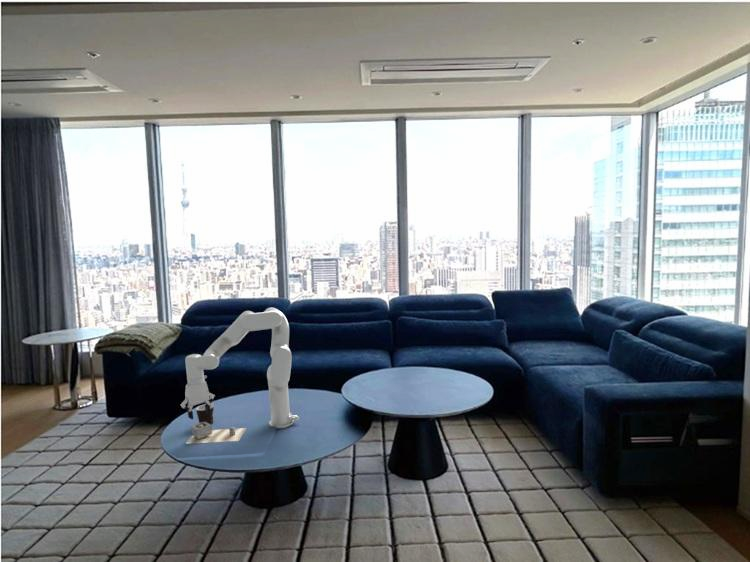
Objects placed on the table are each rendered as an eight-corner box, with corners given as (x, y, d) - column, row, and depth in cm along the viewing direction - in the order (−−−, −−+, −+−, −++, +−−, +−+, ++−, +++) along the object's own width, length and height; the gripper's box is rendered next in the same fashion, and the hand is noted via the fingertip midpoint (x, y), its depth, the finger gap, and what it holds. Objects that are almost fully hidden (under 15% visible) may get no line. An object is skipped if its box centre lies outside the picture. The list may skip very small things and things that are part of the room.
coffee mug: (209, 429, 234) (207, 410, 233) (194, 428, 236) (192, 410, 235) (221, 420, 245) (219, 402, 244) (206, 419, 247) (205, 401, 246)
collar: (205, 430, 228) (204, 421, 228) (212, 433, 223) (211, 424, 223) (191, 435, 223) (190, 426, 223) (198, 439, 219) (197, 429, 218)
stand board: (247, 430, 231) (245, 417, 230) (238, 443, 217) (237, 429, 216) (197, 433, 231) (195, 420, 230) (185, 446, 217) (184, 432, 216)
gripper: (209, 374, 229) (213, 408, 231) (174, 383, 217) (178, 419, 219) (216, 377, 224) (220, 411, 226) (181, 387, 212) (185, 423, 214)
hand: (199, 415), depth 222 cm, fingers open, 7 cm apart
